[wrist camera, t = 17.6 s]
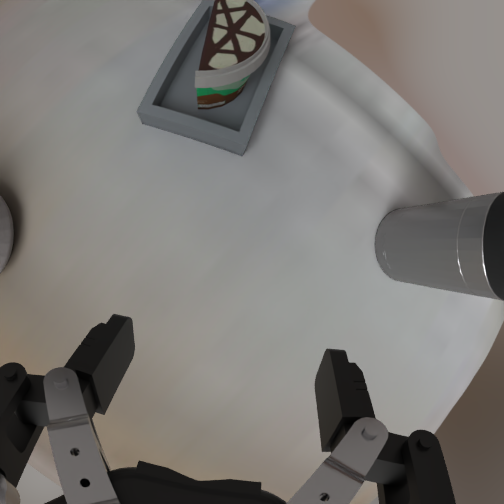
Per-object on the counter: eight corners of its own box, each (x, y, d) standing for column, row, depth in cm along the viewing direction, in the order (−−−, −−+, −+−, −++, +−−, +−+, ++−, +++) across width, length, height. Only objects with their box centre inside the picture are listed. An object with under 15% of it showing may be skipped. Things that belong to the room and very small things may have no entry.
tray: (288, 41, 34) (295, 26, 30) (242, 156, 33) (246, 146, 30) (203, 14, 32) (204, -2, 29) (142, 123, 32) (136, 111, 28)
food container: (251, 127, 33) (270, 85, 23) (195, 121, 32) (194, 76, 22) (260, 42, 33) (278, -9, 23) (211, 36, 32) (216, -17, 22)
